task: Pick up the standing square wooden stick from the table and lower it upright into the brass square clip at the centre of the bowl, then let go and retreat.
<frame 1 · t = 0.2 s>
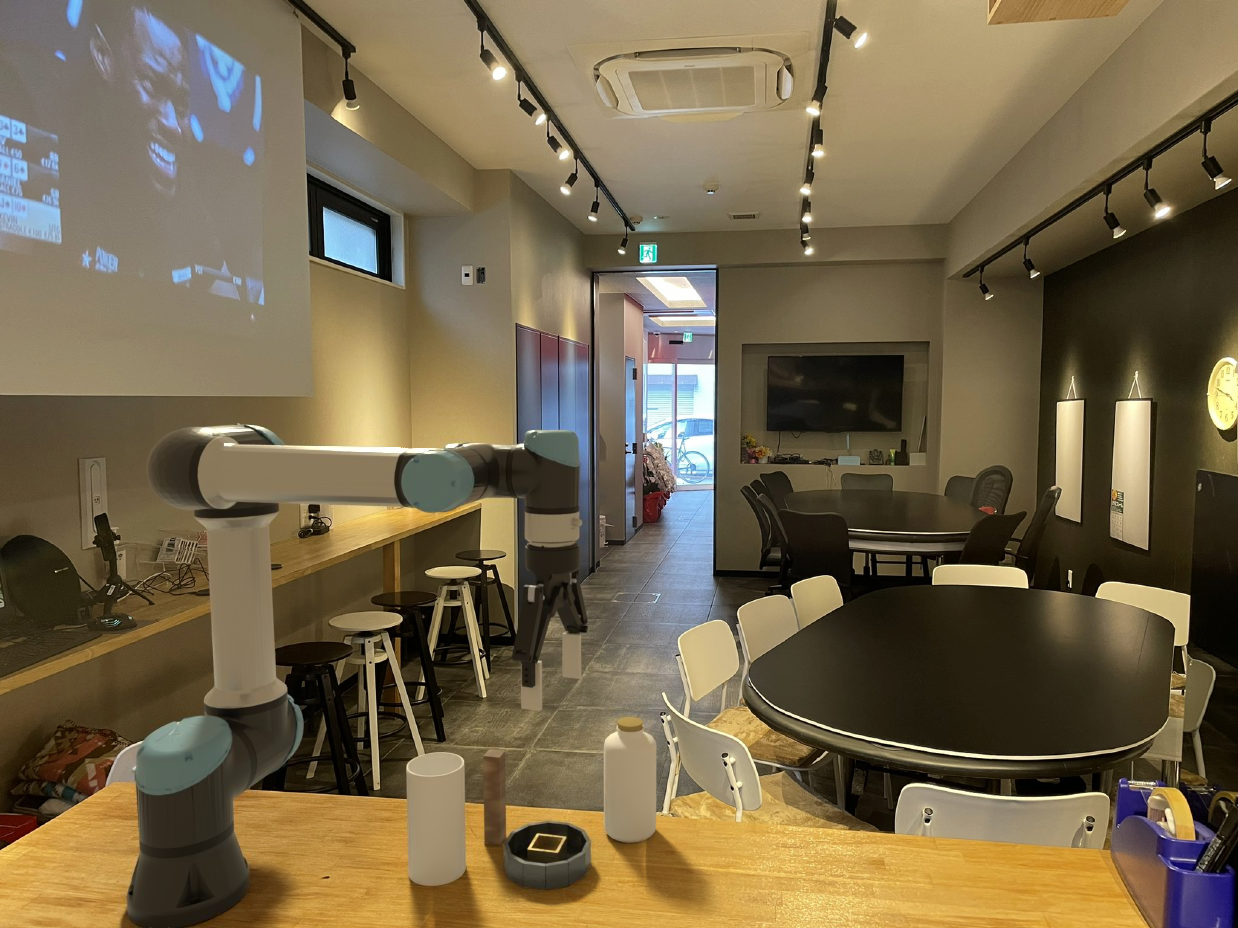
hand: (552, 692, 118), 28 cm above the table, fingers open, 13 cm apart
bowl: (547, 864, 125), on the table
potion bottle: (630, 832, 135), on the table
cup: (437, 871, 124), on the table
square wooden stick: (495, 840, 132), on the table
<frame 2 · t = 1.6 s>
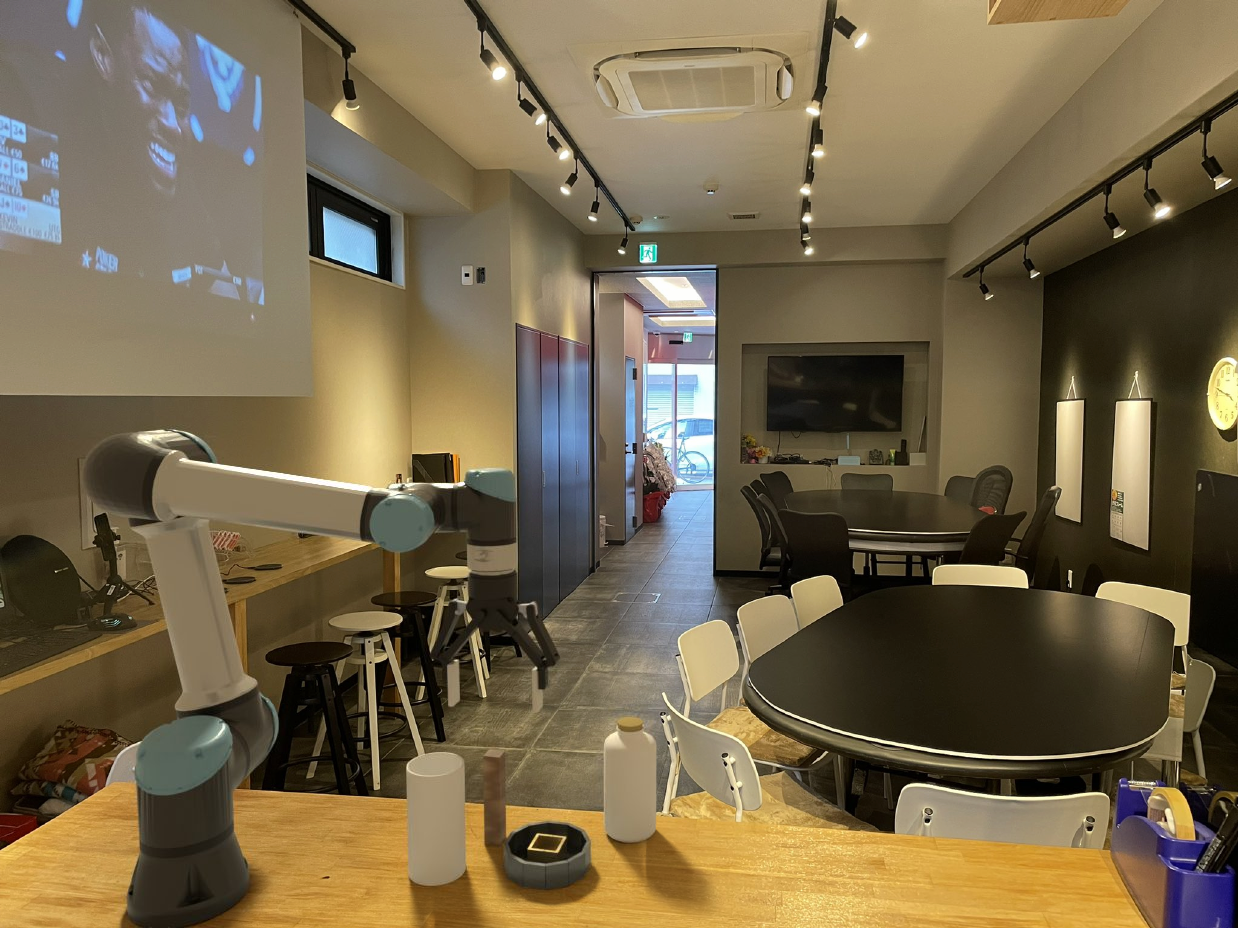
hand: (495, 706, 130), 21 cm above the table, fingers open, 13 cm apart
nothing on the table moved.
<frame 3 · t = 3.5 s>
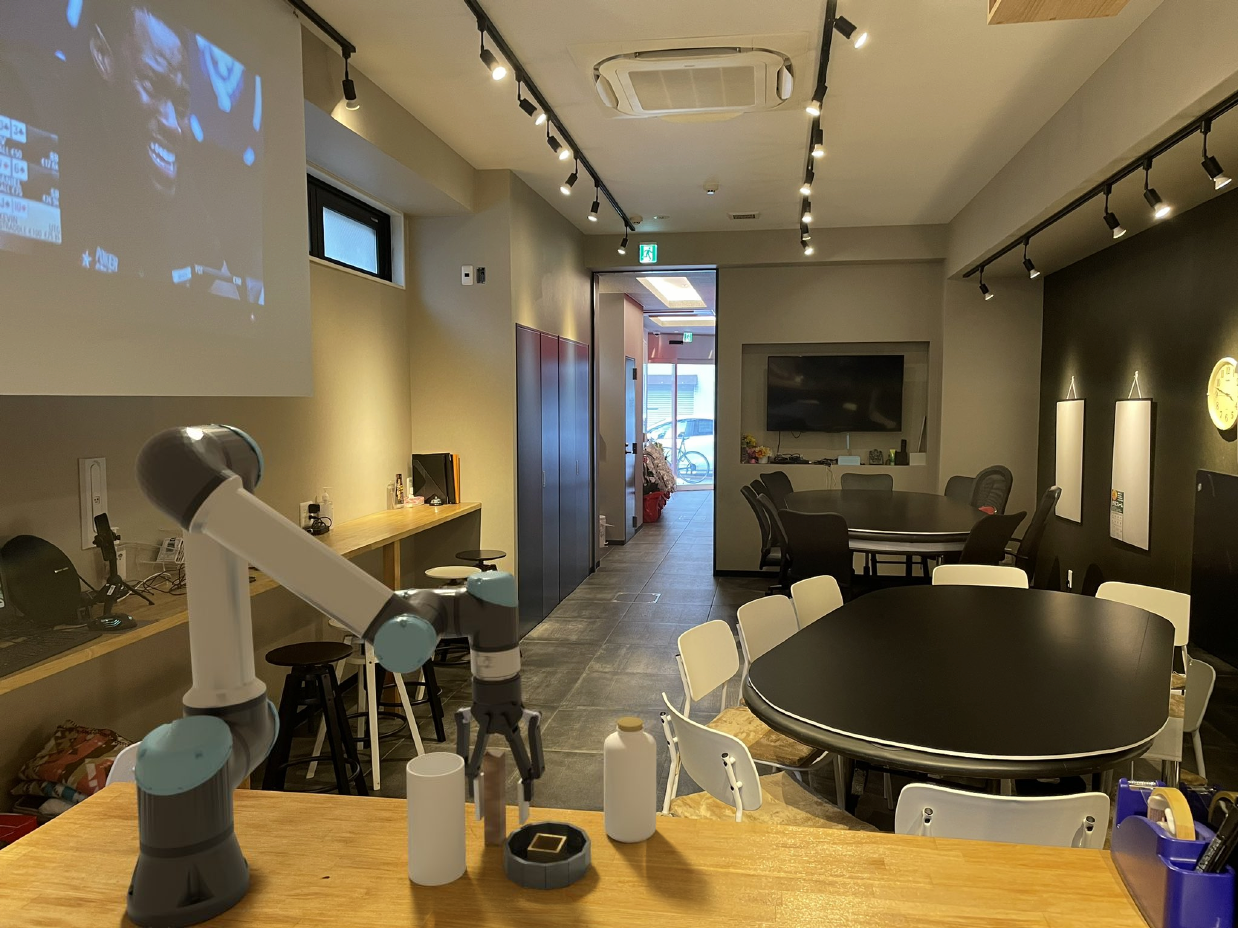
hand: (502, 818, 131), 4 cm above the table, fingers open, 6 cm apart
nothing on the table moved.
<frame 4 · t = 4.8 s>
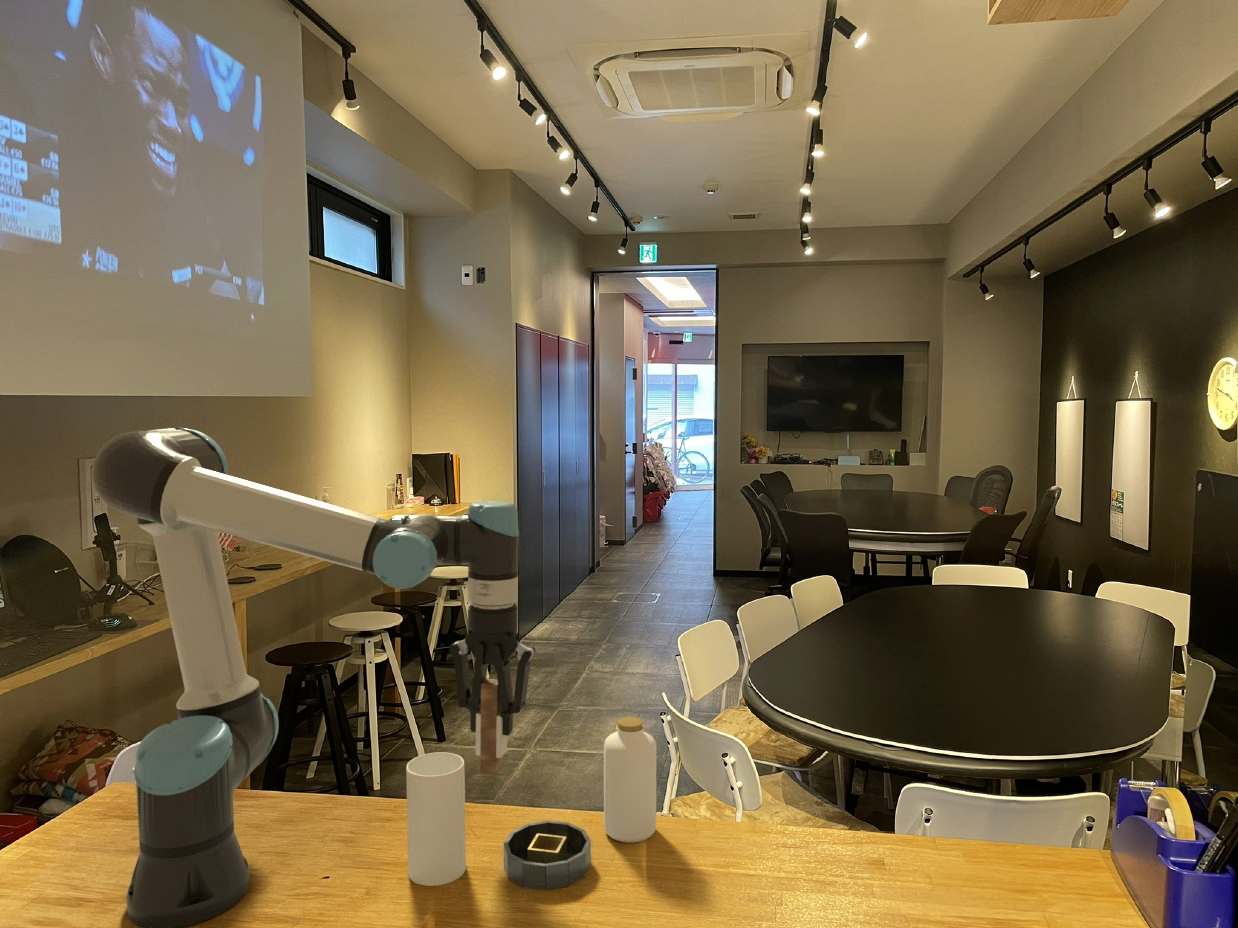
hand: (491, 752, 131), 14 cm above the table, fingers closed on square wooden stick, 3 cm apart
square wooden stick: (491, 770, 131), point 11 cm above the table, touching gripper
everything else where it was.
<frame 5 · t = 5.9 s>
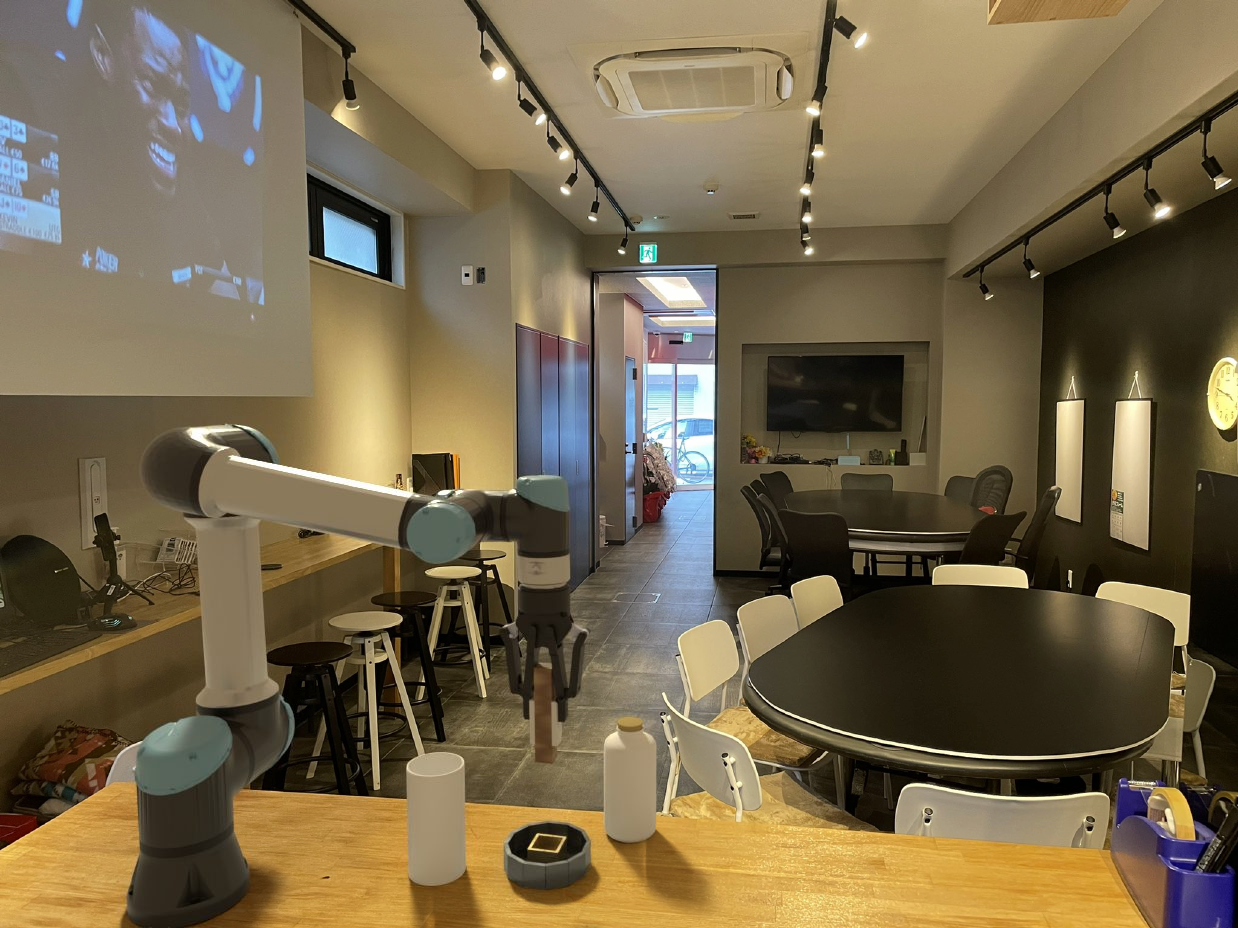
hand: (546, 741, 124), 19 cm above the table, fingers closed on square wooden stick, 3 cm apart
square wooden stick: (546, 759, 124), point 16 cm above the table, touching gripper
everything else where it was.
when the fingers open (5 cm above the table, at t = 8.2 s): square wooden stick drops 1 cm, resting on bowl.
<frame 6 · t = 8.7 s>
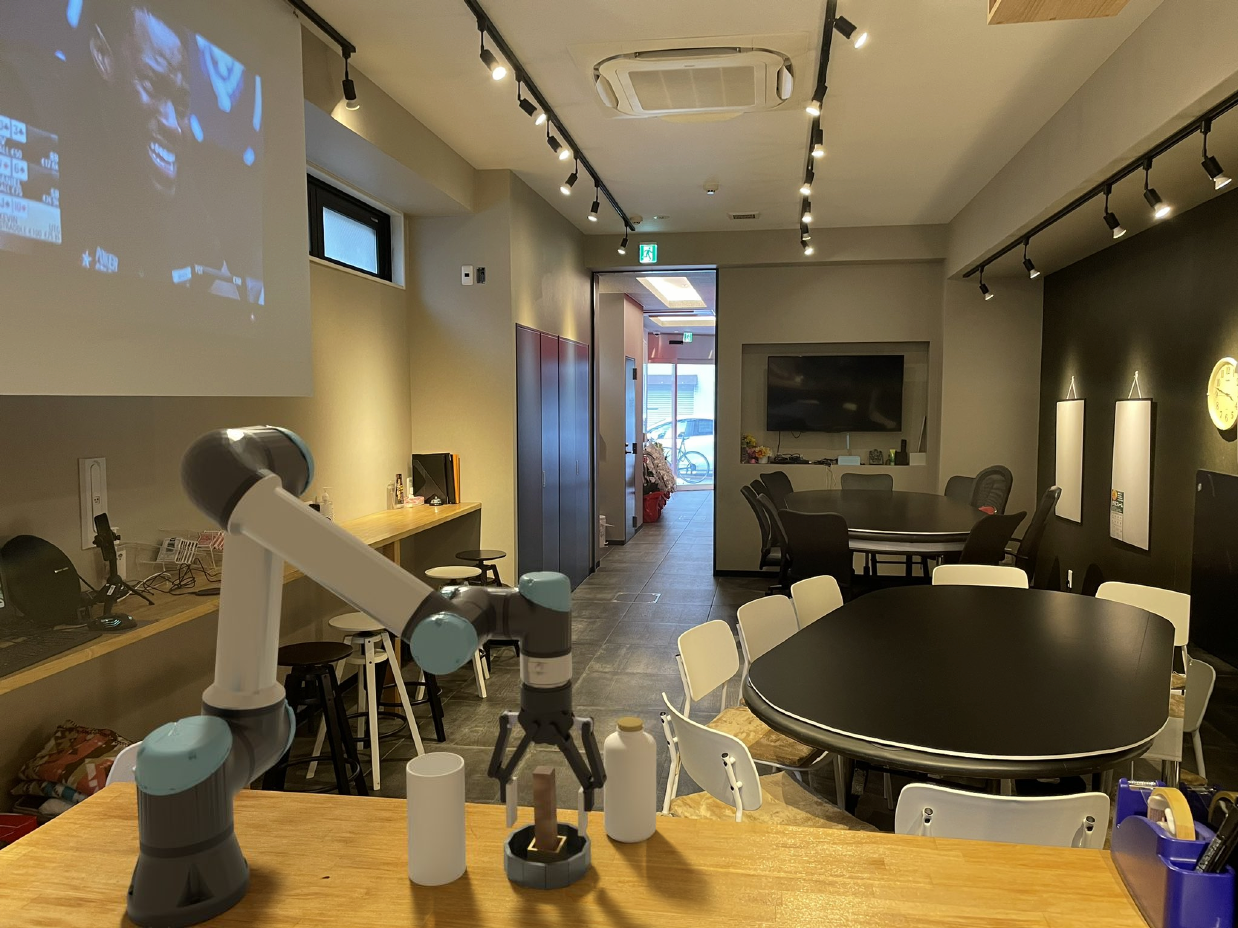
hand: (547, 827, 125), 6 cm above the table, fingers open, 10 cm apart
square wooden stick: (547, 861, 125), resting on bowl
everything else where it was.
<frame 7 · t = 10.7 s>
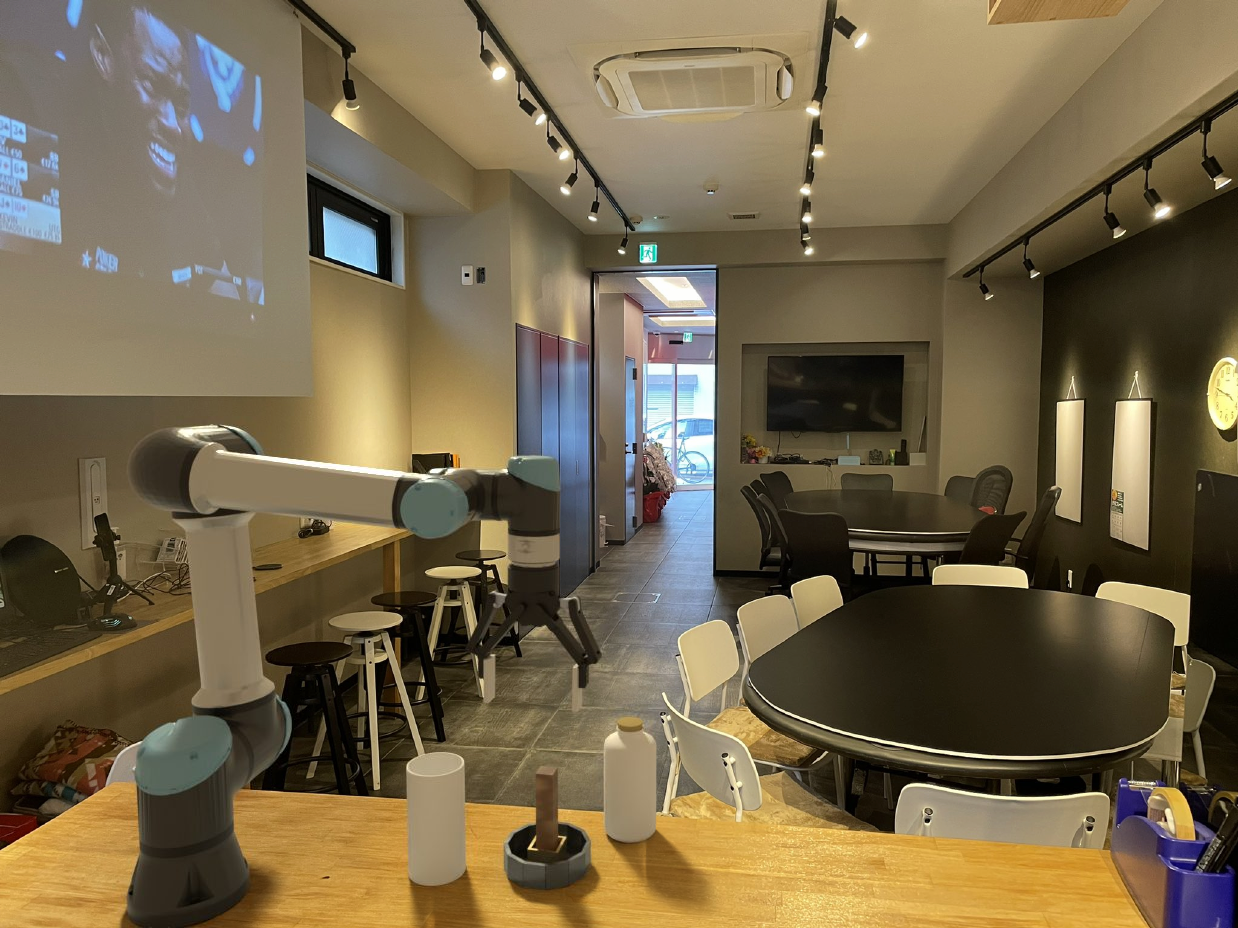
hand: (532, 704, 125), 24 cm above the table, fingers open, 13 cm apart
nothing on the table moved.
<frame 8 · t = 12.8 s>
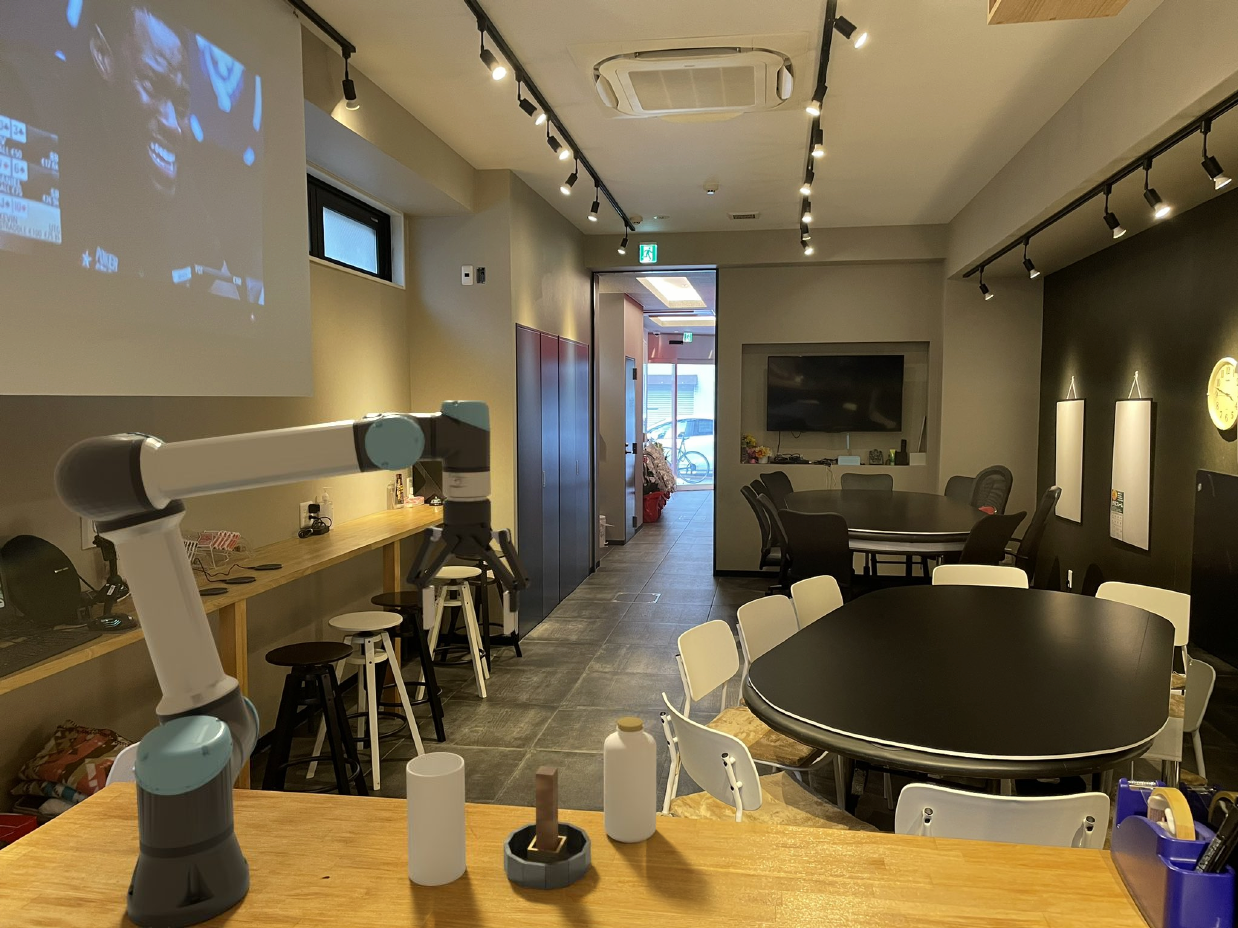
hand: (468, 629, 136), 32 cm above the table, fingers open, 13 cm apart
nothing on the table moved.
at the end: square wooden stick 0.0 cm off-centre on the bowl, point 0.4 cm above the bowl's base; square wooden stick tilted 0°; the gripper is holding nothing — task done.
